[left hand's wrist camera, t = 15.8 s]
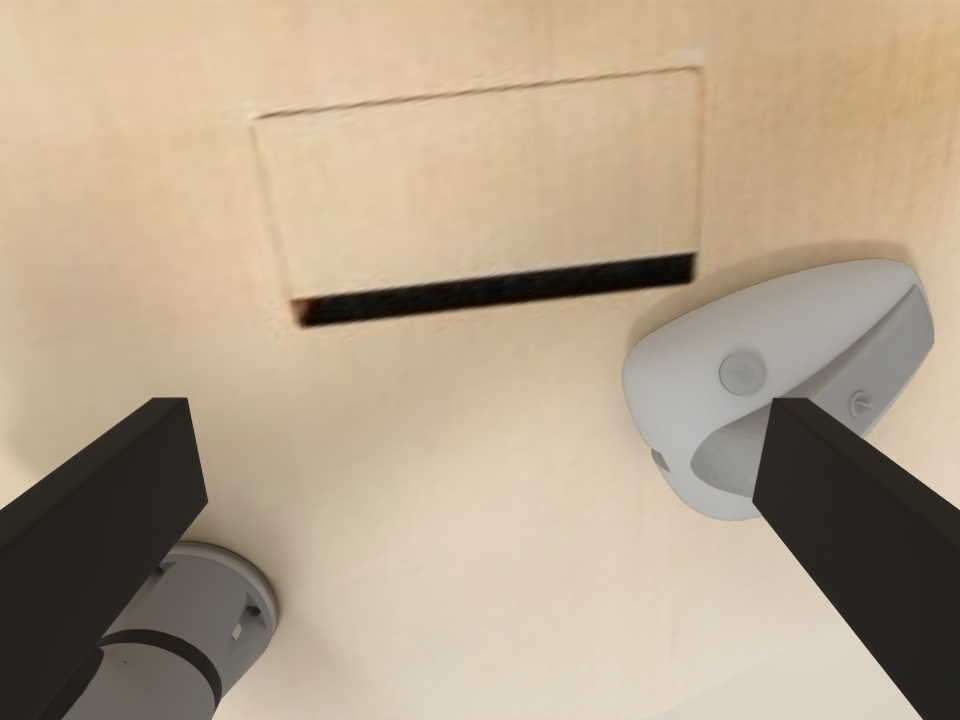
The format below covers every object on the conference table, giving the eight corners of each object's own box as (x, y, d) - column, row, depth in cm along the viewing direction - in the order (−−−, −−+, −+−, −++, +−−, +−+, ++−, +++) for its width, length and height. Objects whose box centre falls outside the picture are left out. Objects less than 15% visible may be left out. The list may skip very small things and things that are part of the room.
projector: (817, 504, 51) (943, 634, 37) (577, 457, 49) (615, 575, 35) (937, 270, 43) (1151, 323, 29) (658, 204, 41) (747, 228, 28)
